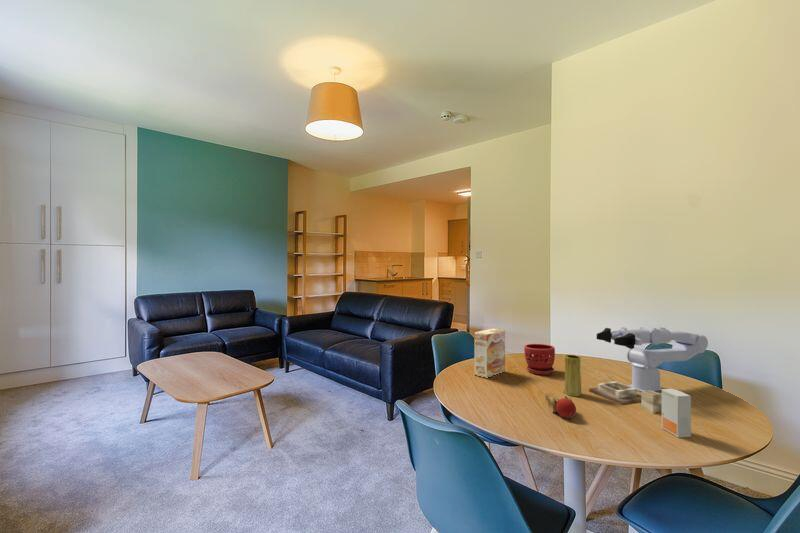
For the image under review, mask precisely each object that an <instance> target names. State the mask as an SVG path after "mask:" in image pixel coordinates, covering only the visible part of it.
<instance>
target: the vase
mask: <svg viewBox="0 0 800 533" xmlns="http://www.w3.org/2000/svg"><path fill="white" fill-rule="evenodd" d="M581 371H582V369H581V356H579V355H575V354H567V355H566V354H565V356H564V389H563V390H564V391H563V393H564V394H565V395H566V396H569V397H581V396H582V375H581V374H582V373H581Z"/></svg>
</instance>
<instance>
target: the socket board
mask: <svg viewBox="0 0 800 533" xmlns="http://www.w3.org/2000/svg"><path fill="white" fill-rule="evenodd" d="M627 385H628V384H624V383H621V382H619V381H616V380H614V381H608V382H607V381H606V382H601V383H597V387H592V388H588V392H589V393H591V394H592V393H593V394H595V395H598V396H600V397H603V398H605V399H607V400H608V401H609V400H610V401H612V402H614V403H617V404H620V405H627V404H631V403H636V402H638V403H639V402H641V394H638V392H637V391H638V390H637V389H636V388H633V387H630V386H627Z"/></svg>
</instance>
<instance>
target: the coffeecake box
mask: <svg viewBox="0 0 800 533" xmlns="http://www.w3.org/2000/svg"><path fill="white" fill-rule="evenodd" d="M473 334H474V360H473V362H474V373H473V374H476V375H480V376H483V377H486V378H488V377H491V376H493V375H496V374H498V375H500V374H499V373H501V372H504V371H505V372H506V329H501V328H488V329H483V330H479V331H475V332H474V333H473ZM505 372H504V373H505ZM501 374H502V373H501ZM496 376H497V375H496ZM493 377H494V376H493ZM491 378H492V377H491ZM488 379H489V378H488Z"/></svg>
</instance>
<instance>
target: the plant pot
mask: <svg viewBox="0 0 800 533" xmlns="http://www.w3.org/2000/svg"><path fill="white" fill-rule="evenodd" d="M523 347H524V350H523V351H524V358H525V361H526V364H527V366H526V369H527V371H529V372H530V373H531V374H536V375H551V374H552V373H553V372H554V371H555V368H554V367H553V365H554V363H555V359H556V348H555V346H553V345H550V344H545V343H544V344H543V343H529V344H525V345H524V346H523Z"/></svg>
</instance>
